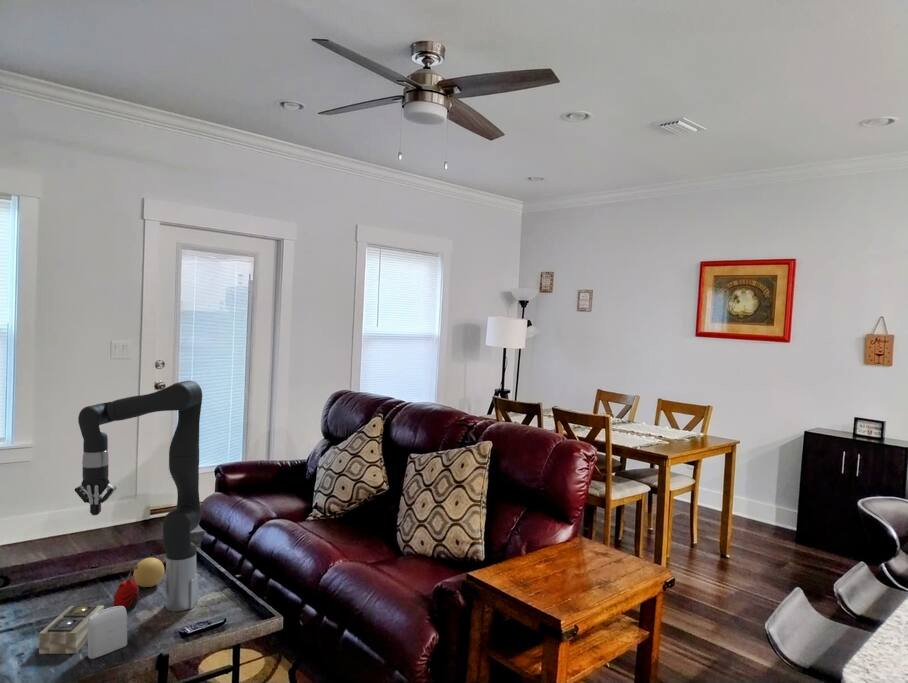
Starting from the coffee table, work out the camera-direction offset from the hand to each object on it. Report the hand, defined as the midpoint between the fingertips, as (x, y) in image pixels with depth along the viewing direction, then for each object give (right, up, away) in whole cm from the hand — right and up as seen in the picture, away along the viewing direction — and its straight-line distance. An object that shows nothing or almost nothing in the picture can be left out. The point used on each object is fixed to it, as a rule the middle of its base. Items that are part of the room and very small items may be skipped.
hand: (95, 514), depth 203 cm
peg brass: (+7, -30, -19) cm, 36 cm away
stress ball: (+12, -29, +12) cm, 34 cm away
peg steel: (+7, -31, -27) cm, 41 cm away
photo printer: (+21, -32, -29) cm, 47 cm away
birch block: (+7, -31, -23) cm, 39 cm away
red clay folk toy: (+12, -30, -3) cm, 33 cm away
